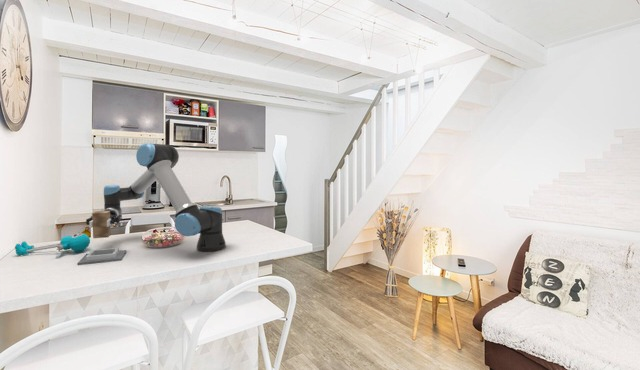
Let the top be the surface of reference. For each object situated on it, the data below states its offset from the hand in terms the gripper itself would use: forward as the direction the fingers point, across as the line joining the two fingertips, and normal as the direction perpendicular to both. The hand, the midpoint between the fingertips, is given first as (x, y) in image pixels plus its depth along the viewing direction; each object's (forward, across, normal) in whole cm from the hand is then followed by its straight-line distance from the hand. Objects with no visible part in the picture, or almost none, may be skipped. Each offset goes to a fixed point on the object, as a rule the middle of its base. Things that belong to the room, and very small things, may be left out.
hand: (99, 224), depth 143 cm
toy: (-25, +24, -18) cm, 39 cm away
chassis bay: (-5, 0, -18) cm, 18 cm away
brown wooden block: (-5, 0, -7) cm, 9 cm away
